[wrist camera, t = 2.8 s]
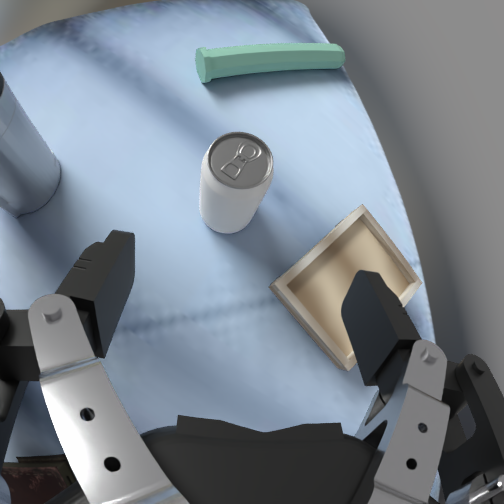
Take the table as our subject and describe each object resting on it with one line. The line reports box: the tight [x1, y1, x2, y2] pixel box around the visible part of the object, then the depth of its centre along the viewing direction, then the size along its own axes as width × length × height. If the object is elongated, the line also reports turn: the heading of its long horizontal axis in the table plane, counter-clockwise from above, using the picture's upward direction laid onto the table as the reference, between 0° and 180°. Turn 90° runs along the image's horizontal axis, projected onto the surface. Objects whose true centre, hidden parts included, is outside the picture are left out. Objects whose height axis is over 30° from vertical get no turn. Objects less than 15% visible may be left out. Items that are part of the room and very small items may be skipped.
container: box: [195, 43, 345, 83], centre depth 41 cm, size 6×6×25 cm
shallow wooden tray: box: [269, 204, 422, 371], centre depth 34 cm, size 14×12×6 cm
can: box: [199, 132, 273, 234], centre depth 31 cm, size 6×6×12 cm
